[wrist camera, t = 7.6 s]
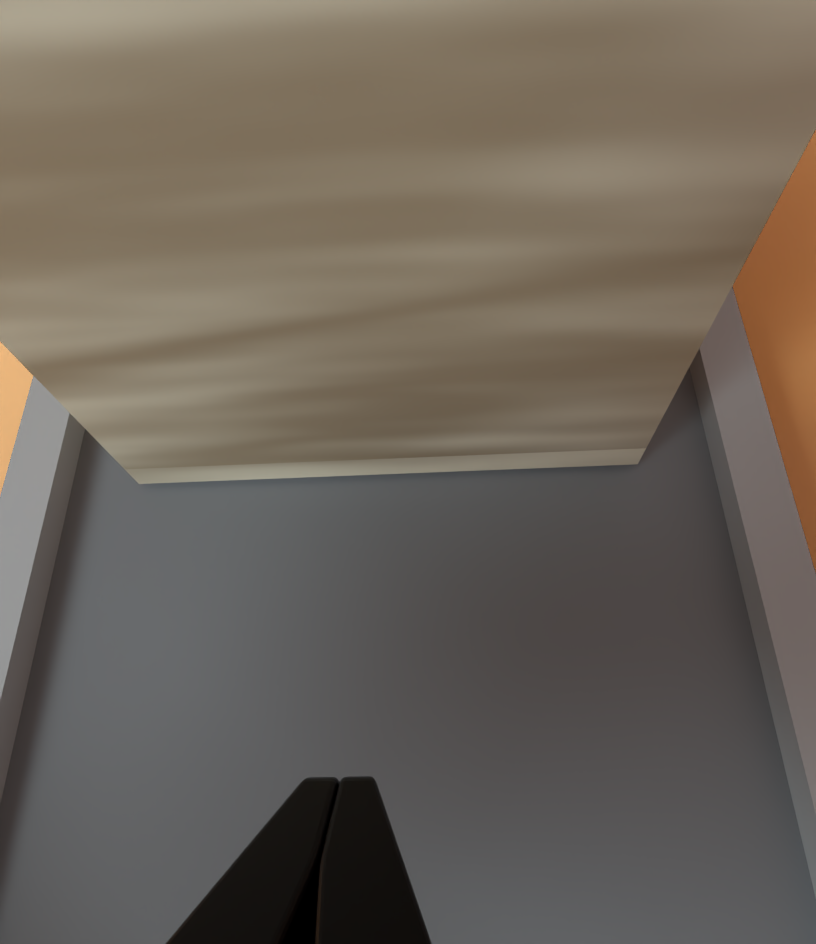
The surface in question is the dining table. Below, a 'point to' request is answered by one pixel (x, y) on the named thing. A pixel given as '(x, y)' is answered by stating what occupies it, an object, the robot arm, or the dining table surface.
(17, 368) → the dining table surface
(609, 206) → the box
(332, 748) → the grey tray
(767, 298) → the dining table surface
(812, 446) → the dining table surface
